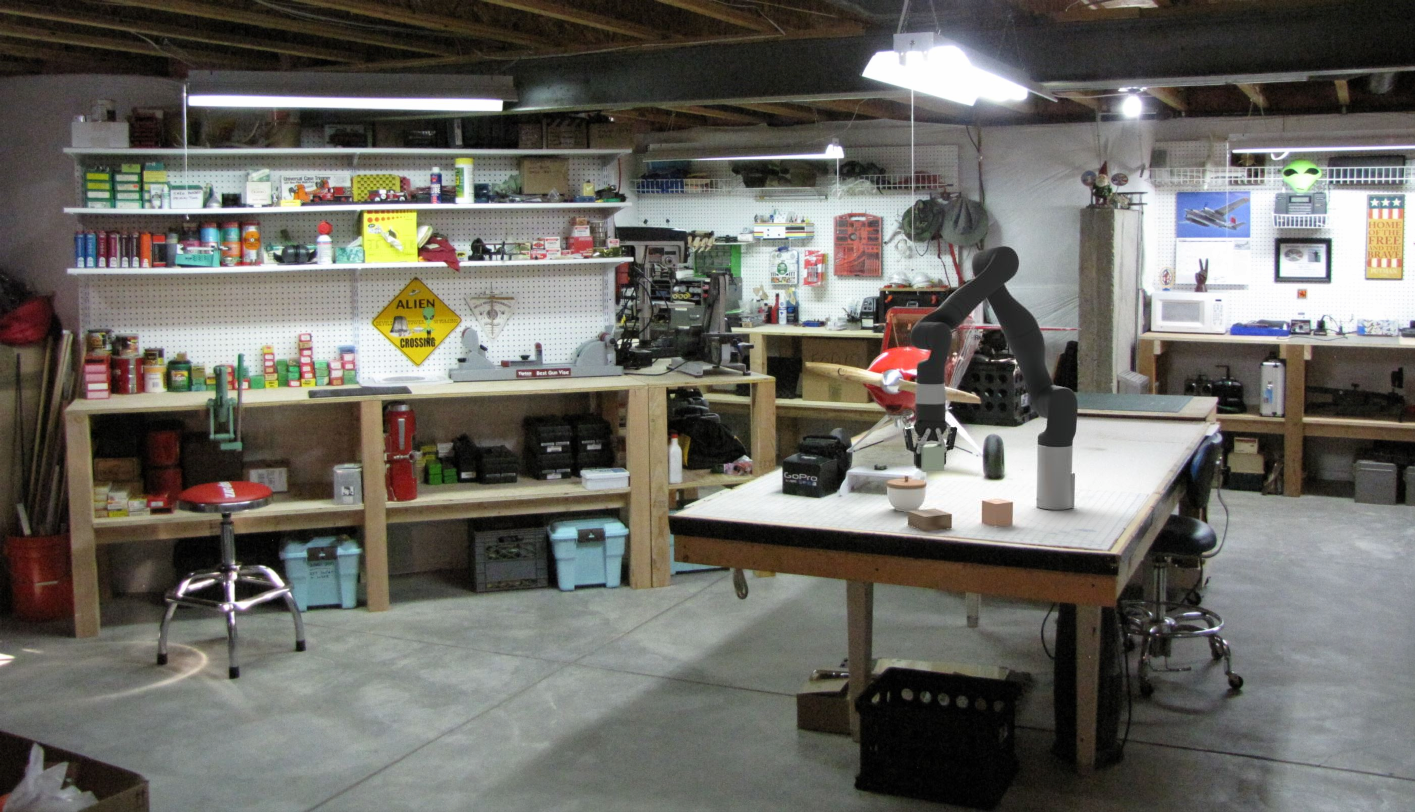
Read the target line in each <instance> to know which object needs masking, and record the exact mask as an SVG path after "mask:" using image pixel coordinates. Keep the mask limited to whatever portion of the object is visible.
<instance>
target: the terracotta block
mask: <svg viewBox="0 0 1415 812" xmlns="http://www.w3.org/2000/svg"><path fill="white" fill-rule="evenodd" d="M1013 514H1014V502H1013V501H1010V500H1006V499H1002V498H991V499H983V500H981V524H983V523H984V525H987V524H988V525H987V526H990V525H991V527H994V526H1000V527H1005V526H1004V525H1007V526H1013V525H1012V524H1014V522H1013V521H1014V520H1013V518H1014V515H1013Z"/></svg>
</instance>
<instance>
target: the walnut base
mask: <svg viewBox="0 0 1415 812" xmlns="http://www.w3.org/2000/svg"><path fill="white" fill-rule="evenodd" d="M952 520H953V515H952V513H949V512H946V511H943V510H940V509H937V508H927V509H926V508H925V509H918V510H914V511H908V512H907V526H908V525H910V526H909V527H911V526H913V527H912V528H914V527H915V528H914V529H917V528H918V529H917V530H919V529H920V531H922V530H923V531H922V532H932V530H933V531H941V530H940V529H943V530H948V529H947V528H952V527H953V524H952Z"/></svg>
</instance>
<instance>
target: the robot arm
mask: <svg viewBox="0 0 1415 812" xmlns="http://www.w3.org/2000/svg"><path fill="white" fill-rule="evenodd" d="M1019 267H1020V259H1019V256H1018V254H1017V252H1016V250H1015V249H1013V248H1012V247H1010V246H1005V245H1004V246H1003V245H1002V246H995V247H989V248H986V249H982V250H978V251H977V252H975V253H974V254H973V256H972V258H971V270H972V274H973V276H974V278H973V279H971V280H970V281H967V283H965V284H963V285H962V286H961V287H959V288H957V289H956V290H955V291H954V292H953V293H951V294H950V295H949V296H948V297H947V298H946V299H945V300H944V301H943V302H942V304H940V305H939V307H937V309H935V310H933V311H931V312H930V313H928V314H927V315H925V316H923V317H922V318H921V319H919V320H918V321H917V322H915V324H914V325H913V327H912V328H911V331H910V334H909V337H910V343H911V345H912V346H913V347H914V348H916V349H917V350H922V351H930V353H929V356H928V358H925V359H922V360H920V361H918V363H917V364H916V387H915V406H914V407H915V410H914V411H915V412H914V413H915V415H914V417H915V419H914V420H915V421H914V422H915V423H914V424H913V426H910V427H904V428H903V429H902V433H903V436H904V443H905V447H906V450H907V451H909V452H912V453H913V465H914V466H915V469H917V468H921V454H920V453H921V450H922V447H923V446H924V445H926V444H927V442H931V441H933V442H935V444H937V445H940V446H943V447H944V466H945V465H947V452H949V451H951V450H954V448H955V444H956V443H955V442H956V437H957V432H958V427H957V426H955V425H947V423H946V411H947V410H946V409H947V408H946V405H947V402H946V401H947V392H946V384H945V383H946V366H947V363H948V357H949V355H950V351H951V348H952V344H953V333H952V331H953V330H956V329H958V328H959V327H960V326H961V325H962V324H963V323H964V322H965V320H967V318H968V317H970V315H971V314H972V313H973V312H974V311H975V309H976V308H977V307H979V305H981V304H982V303H983V302H984V301H985V300H987V301H988V304H989V305H990V307H991V309H992V310H993V313H994V315H995V317H996V319H997V321H998V323H999V325H1000V328H1001V331H1002V333H1003V335H1004V338H1005V340H1006V342H1007V344H1008V347H1009V349H1010V351H1011V353H1012V355H1013V356H1014V360H1015V362H1016V364H1017V366H1018V368H1019V371H1020V372H1021V375H1022V378H1023V380H1024V383H1025V386H1026V390H1027V391H1028V395H1029V399H1030V402H1031V404H1032V407H1033V410H1034V412H1035V413H1036V414H1037V415H1039V416H1040V417H1042V418H1043V419H1046V427H1045V430H1044V431H1042V432H1040V433H1039V434H1038V435H1037V455H1036V456H1037V458H1036V460H1037V461H1036V463H1037V464H1036V499H1035V500H1036V503H1035V504H1036V505H1035V507H1037V508H1039V509H1043V510H1044V509H1045V510H1055V511H1056V510H1057V511H1059V510H1060V511H1061V510H1068V509H1072V508H1073V509H1074V508H1075V502H1076V501H1075V500H1076V497H1075V494H1076V492H1075V491H1076V474H1075V472H1073V448H1074V447H1073V445H1074V442H1073V441H1074V438H1075V435H1076V434H1077V424H1078V423H1077V422H1078V406H1079V405H1078V399H1077V396H1076V395H1077V394H1076V393H1075V392H1074V391H1073V390H1072V389H1071V388H1070V387H1069V388H1068V387H1065V386H1064V387H1063V386H1059V385H1056V384H1055V383H1054V382H1053V379H1052V378H1051V376H1050V373H1049V371H1048V369H1047V365H1046V342H1045V337H1044V335H1043V331H1042V330H1041V327H1040V325H1039V323H1038V321H1037V319H1036V317H1035V316H1034V314H1032V312H1031V311H1029V310H1028V308H1027V307H1025V306H1024V305H1023V304H1022V303H1020V302H1019V300H1017V299H1016V298H1015V297H1013V295H1012V294H1011V292H1010V291H1009V290H1008V288H1007V286H1006V284H1007V282H1009V281H1010V280H1012V279H1013V278H1014V277H1015V276H1016V274H1017V273H1018V271H1019ZM914 432H915V433H916V434H917V437H916V438H915V442H914V441H913V440H914V439H913V436H914ZM945 432H946V434H947V437H946V442H945V439H944V437H943V435H944V433H945ZM914 443H915V444H914Z"/></svg>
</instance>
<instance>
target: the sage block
mask: <svg viewBox="0 0 1415 812" xmlns="http://www.w3.org/2000/svg"><path fill="white" fill-rule="evenodd" d="M920 454H921V468H916V469H917V470H919V471H920V472H921V471H922V472H943V471H945V465H944V447H943V446H940V445H937V444H936V443H929V444H927V443H925V445H924V446H923V447H922V450H921V453H920Z"/></svg>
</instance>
